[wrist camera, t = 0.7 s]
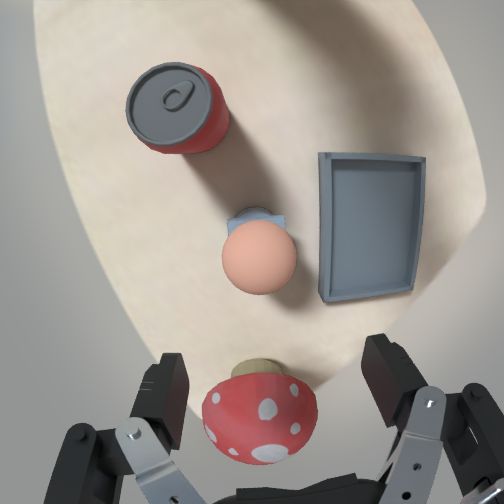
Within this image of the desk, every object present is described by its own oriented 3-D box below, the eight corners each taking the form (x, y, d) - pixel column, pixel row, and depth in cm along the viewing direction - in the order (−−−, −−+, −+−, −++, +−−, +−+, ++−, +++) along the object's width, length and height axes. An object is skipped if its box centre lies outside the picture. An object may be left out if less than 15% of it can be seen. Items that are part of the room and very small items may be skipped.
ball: (220, 215, 25) (214, 235, 19) (289, 210, 25) (303, 229, 19) (227, 277, 27) (224, 311, 21) (290, 272, 27) (303, 305, 21)
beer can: (243, 124, 26) (244, 105, 15) (193, 166, 27) (160, 177, 16) (202, 79, 24) (176, 36, 13) (153, 121, 25) (99, 106, 14)
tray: (318, 152, 27) (324, 152, 25) (413, 156, 27) (425, 157, 25) (318, 292, 33) (323, 302, 30) (403, 281, 33) (413, 290, 31)
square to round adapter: (228, 208, 29) (225, 220, 24) (278, 205, 29) (285, 216, 24) (232, 255, 31) (231, 275, 26) (280, 252, 31) (287, 271, 26)
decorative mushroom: (322, 365, 37) (350, 450, 23) (252, 406, 40) (256, 488, 26) (262, 308, 33) (274, 407, 19) (187, 362, 36) (169, 453, 22)
